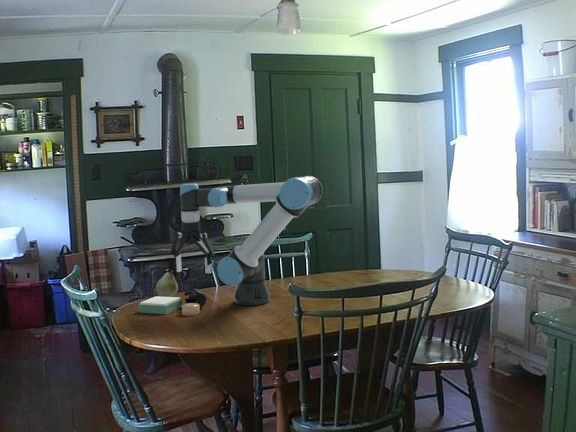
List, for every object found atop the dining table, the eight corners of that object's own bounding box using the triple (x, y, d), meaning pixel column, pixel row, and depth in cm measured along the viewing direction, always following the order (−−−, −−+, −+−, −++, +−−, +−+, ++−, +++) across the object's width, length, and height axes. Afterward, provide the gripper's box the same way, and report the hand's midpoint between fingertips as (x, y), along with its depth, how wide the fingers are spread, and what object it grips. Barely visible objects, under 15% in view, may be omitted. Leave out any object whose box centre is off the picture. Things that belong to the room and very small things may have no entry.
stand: (182, 306, 290) (182, 297, 290) (165, 314, 278) (165, 304, 278) (156, 305, 295) (155, 295, 295) (138, 312, 283) (137, 302, 283)
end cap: (207, 308, 286) (206, 292, 285) (190, 310, 284) (189, 294, 283) (201, 303, 295) (200, 287, 295) (185, 305, 293) (184, 289, 292)
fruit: (182, 296, 310) (181, 270, 308) (165, 300, 303) (163, 273, 302) (169, 294, 317) (167, 268, 316) (151, 298, 310) (150, 271, 309)
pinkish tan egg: (202, 312, 280) (202, 303, 280) (194, 316, 273) (193, 307, 273) (187, 311, 283) (187, 302, 282) (178, 315, 276) (178, 306, 276)
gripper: (221, 220, 285) (224, 271, 287) (169, 220, 294) (172, 269, 296) (213, 222, 278) (215, 274, 280) (159, 222, 287) (162, 272, 289)
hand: (193, 272), depth 288 cm, fingers open, 13 cm apart
